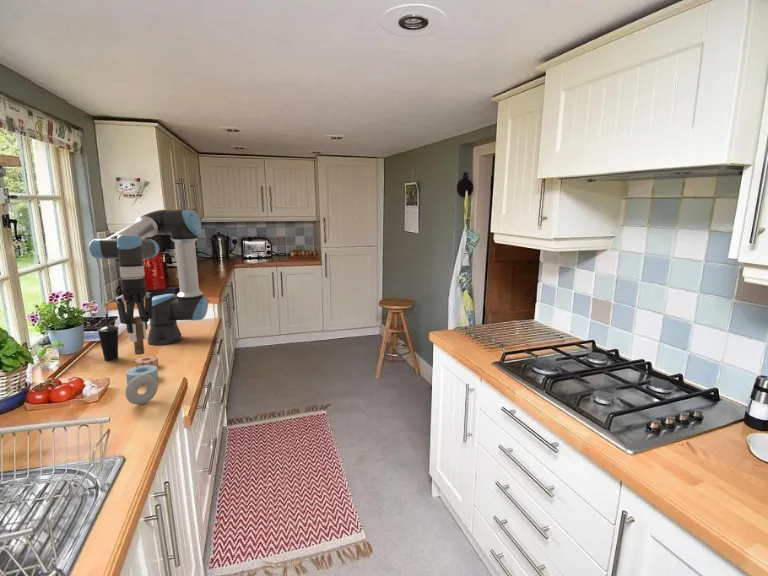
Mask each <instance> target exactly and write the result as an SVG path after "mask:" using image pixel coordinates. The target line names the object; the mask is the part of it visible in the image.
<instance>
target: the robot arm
mask: <svg viewBox="0 0 768 576" xmlns="http://www.w3.org/2000/svg"><path fill="white" fill-rule="evenodd" d="M201 234H202V221H201V219H200V217H199V214H197V212H195V211H194V210H188V209H159V210H158V209H157V210H154V211H151V212H149V213H145V214H143V215H141V216H139V217H138V218H136V220H135V222H133V223H132V224H130V225H128V226H127V227H125V228H123V229H121V230H119V231H117V232H116V233H114V234H112V235H110V236H108V237H107V238H95V239H92V240H91V241H90V242H89V245H88V247H89V254H90V255H91V257H93V258H94V259H102V260H117V259H118V265H119V275H120V288H121V291H122V292H121V294H120V295H119V296H118V297H114V298H113V300H114V303H115V304H116V306H117V312H118V316H119V321H120V322H119V323H120V324H123V325H126V332H127V333H128V334H129V338H130V340H129V341H130V342H133V343H134V342H136V341H137V337H136V326H135V324H133V317H134V310H135V306H136V307H137V311H138V316H141V321H142V332H143V340H147V344H149V345H153V346H162V345H163V346H165V345H171V344H175V343H178V342H180V341H182V339H183V336H182V333H181V330H180V329H179V326H178V322H177V321H193V322H195V321H202V320H203V319H204V318H205V317H206V315H207V312H208V308H209V300H208V298H207V297H206V296H204V293H203V292H202V290H200V286H199V285H200V284H199V283H200V282H199V275H198V262H197V251H196V241H198V239H199V237H198V236H199V235H201ZM156 235H157V236H158V235H160V236H161V235H164V236H170V240H171V241H172V242H174V247H175V255H176V257H175V258H176V268H177V276H178V278H177V279H178V285H179V286H178V287H179V291H178V293H177V294H176V295H175V293H164V294H160V295H155V296H154V293H153V292H149V291H147V289H146V278H145V276H146V275H145V267H144V266H145V265H144V260H147V259H149V260H150V259H152V258H155V257H156V256H158V254H159V252H160V246H159V244H158V242H157V241H156V240H153V239H151V237H154V236H156ZM124 302H125V303H124ZM148 322H149V325H150V326H149V327H150V328H149V331H148V335H147V330H148Z"/></svg>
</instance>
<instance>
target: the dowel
mask: <svg viewBox="0 0 768 576" xmlns="http://www.w3.org/2000/svg"><path fill="white" fill-rule="evenodd" d="M133 324H135V326H136V337H137V341H136V342H133V347H134V355H136V356H139V355H140V356H141V355H143V354H145V345H144V339H143V332H142V321H141V316H139V315H137V316H133Z"/></svg>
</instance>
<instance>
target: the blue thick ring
mask: <svg viewBox="0 0 768 576" xmlns="http://www.w3.org/2000/svg"><path fill="white" fill-rule="evenodd" d="M143 374H147V375H151V376H153V377H154V378H155V379H156V380H158V379H159V377H158V375H159V374H158V367H156V366H153V365H144V366H138V367H136V366H135V367H132V368H129V369H127V370H125V375H126V384H127V385H128V384H129V382H130V381H131V380H132V379H133V378H135V377H137V376H139V375H143Z"/></svg>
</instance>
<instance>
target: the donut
mask: <svg viewBox="0 0 768 576" xmlns="http://www.w3.org/2000/svg"><path fill="white" fill-rule="evenodd" d="M157 380H158V379H157ZM157 380H156V379H155V378H154V377H153V376H151V375H147V374H143V375H139V376H137V377H135V378H133V379H132V380H131V381H130V382H129V384H127V385H126V387H125V393H124V394H125V398H126V400H127V401H128V402H129V403H130V404H133V405H138V406H139V405H140V406H141V405H143V404H146V403H148V402H149V401H151V400H152V399H153V398H154V397H155V396H156V395H157V392H158V389H159V388H158V387H159V385H158V381H157ZM143 385H145V386H146V389H145V391H144V392H142V393H139V392H138V391H139V388H140V387H141V386H143Z"/></svg>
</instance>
